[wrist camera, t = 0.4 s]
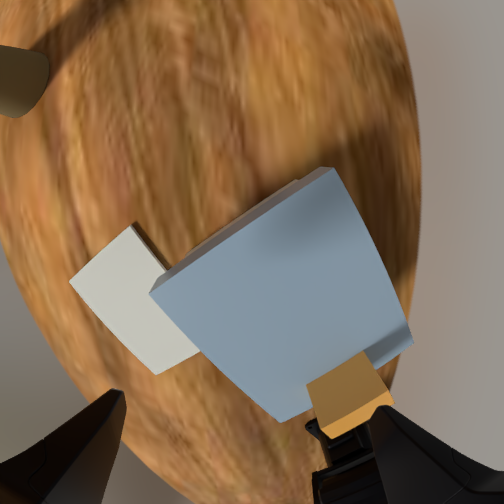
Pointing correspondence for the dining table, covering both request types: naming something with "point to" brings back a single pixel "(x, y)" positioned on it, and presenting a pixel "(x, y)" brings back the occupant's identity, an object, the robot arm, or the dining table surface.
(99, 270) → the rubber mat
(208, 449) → the dining table surface
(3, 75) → the cork
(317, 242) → the lid
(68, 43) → the dining table surface
